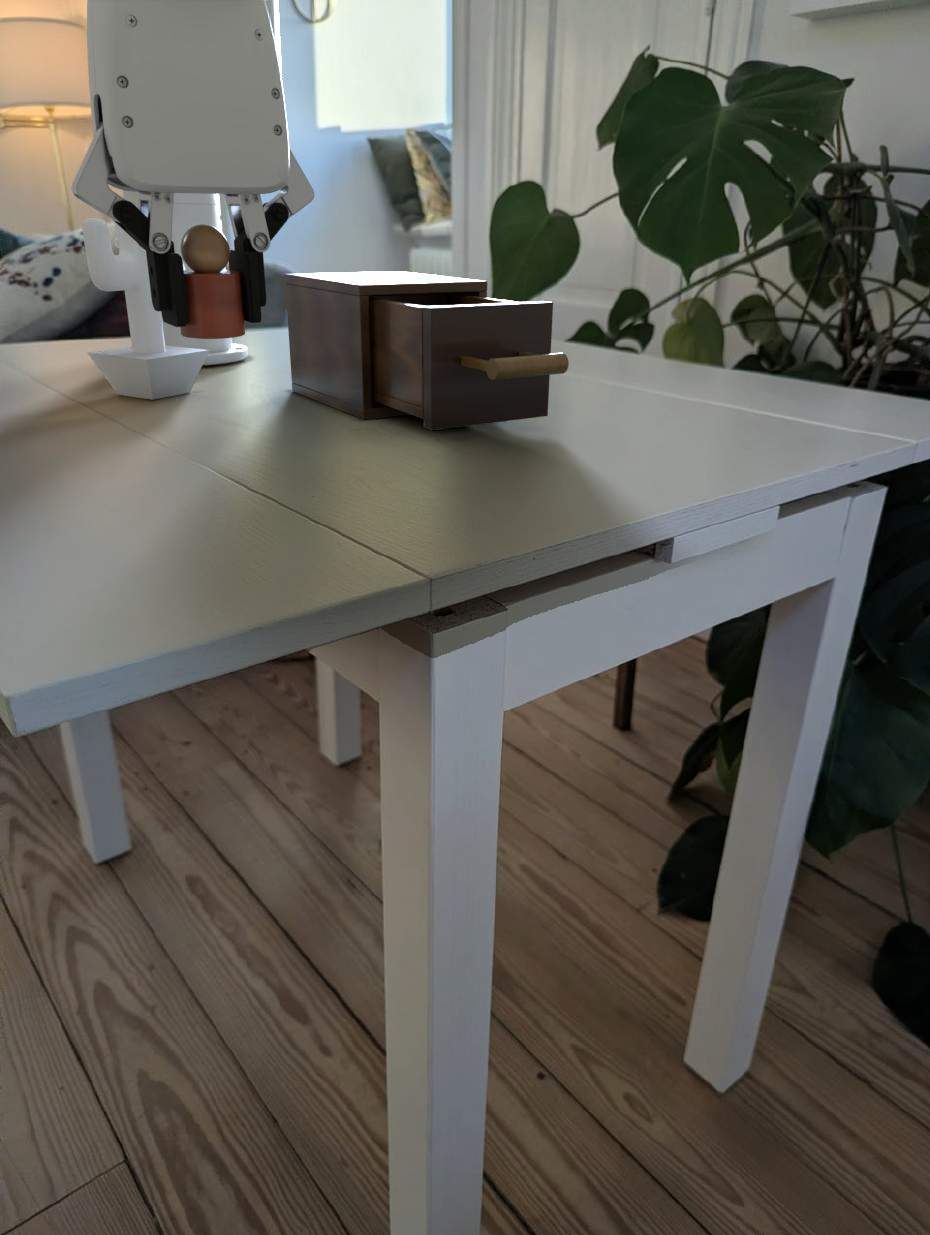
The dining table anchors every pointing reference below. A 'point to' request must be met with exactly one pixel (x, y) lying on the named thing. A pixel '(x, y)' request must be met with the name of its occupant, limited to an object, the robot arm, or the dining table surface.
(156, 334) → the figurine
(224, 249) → the peg doll
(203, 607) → the dining table surface
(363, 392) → the cabinet
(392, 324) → the drawer
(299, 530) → the dining table surface
